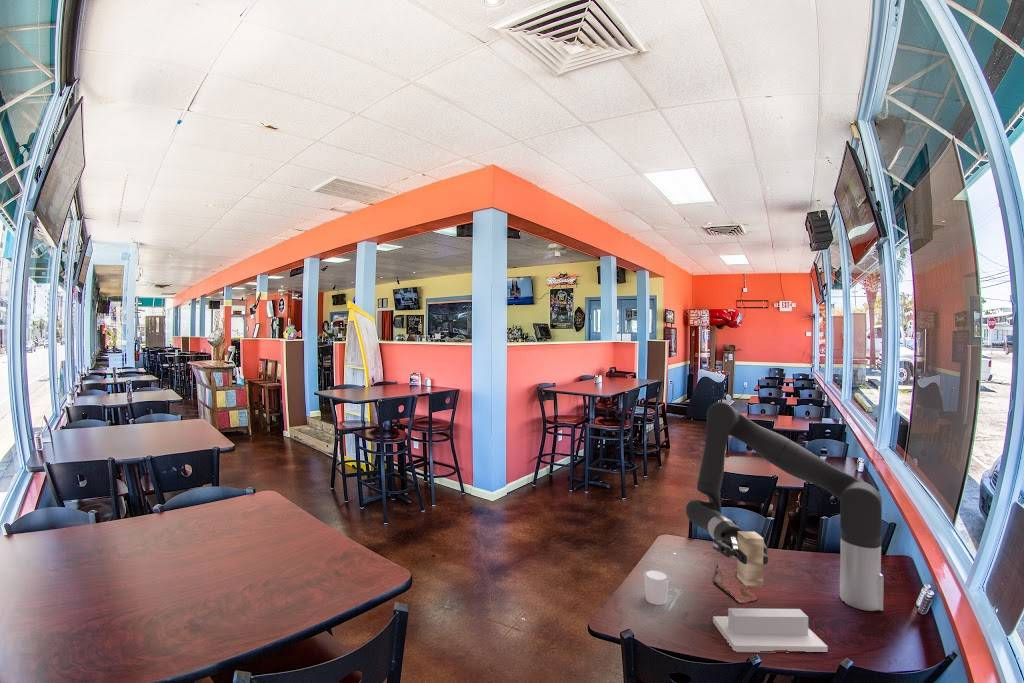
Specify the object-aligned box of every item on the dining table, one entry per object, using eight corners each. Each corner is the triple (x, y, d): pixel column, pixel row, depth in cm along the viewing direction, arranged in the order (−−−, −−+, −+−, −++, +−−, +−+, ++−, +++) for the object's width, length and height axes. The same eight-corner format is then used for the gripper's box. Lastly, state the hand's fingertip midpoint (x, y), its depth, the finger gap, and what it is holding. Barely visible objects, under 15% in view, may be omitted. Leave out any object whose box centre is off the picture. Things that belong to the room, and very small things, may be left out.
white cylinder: (670, 596, 138) (670, 572, 138) (667, 608, 132) (667, 583, 132) (645, 591, 141) (645, 567, 141) (641, 602, 135) (641, 577, 135)
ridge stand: (797, 622, 126) (797, 599, 126) (827, 652, 114) (828, 627, 114) (713, 622, 126) (713, 599, 126) (734, 652, 114) (734, 626, 114)
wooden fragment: (762, 607, 133) (762, 604, 133) (720, 602, 136) (720, 598, 136) (741, 565, 158) (741, 562, 158) (705, 561, 161) (705, 558, 161)
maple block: (754, 577, 127) (754, 531, 127) (763, 585, 122) (763, 538, 122) (737, 576, 127) (737, 531, 127) (745, 585, 122) (745, 538, 122)
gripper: (701, 520, 139) (727, 545, 122) (751, 520, 139) (784, 546, 122) (701, 546, 139) (727, 575, 122) (750, 546, 139) (783, 575, 122)
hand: (755, 560), depth 122 cm, fingers closed on maple block, 4 cm apart
